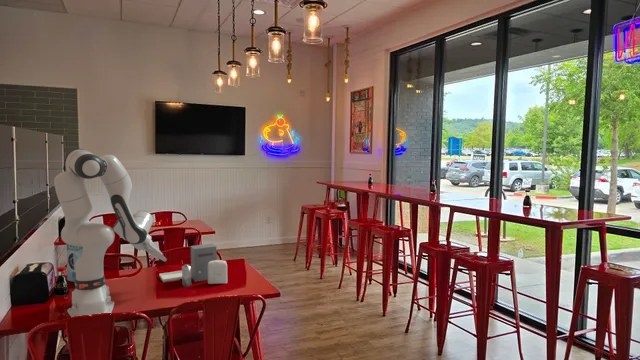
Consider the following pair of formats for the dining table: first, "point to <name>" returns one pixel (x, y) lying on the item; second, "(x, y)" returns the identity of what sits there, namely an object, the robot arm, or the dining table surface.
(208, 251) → the box
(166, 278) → the tray
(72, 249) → the gum box
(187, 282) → the cartridge
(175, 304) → the dining table surface
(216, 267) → the photo printer
